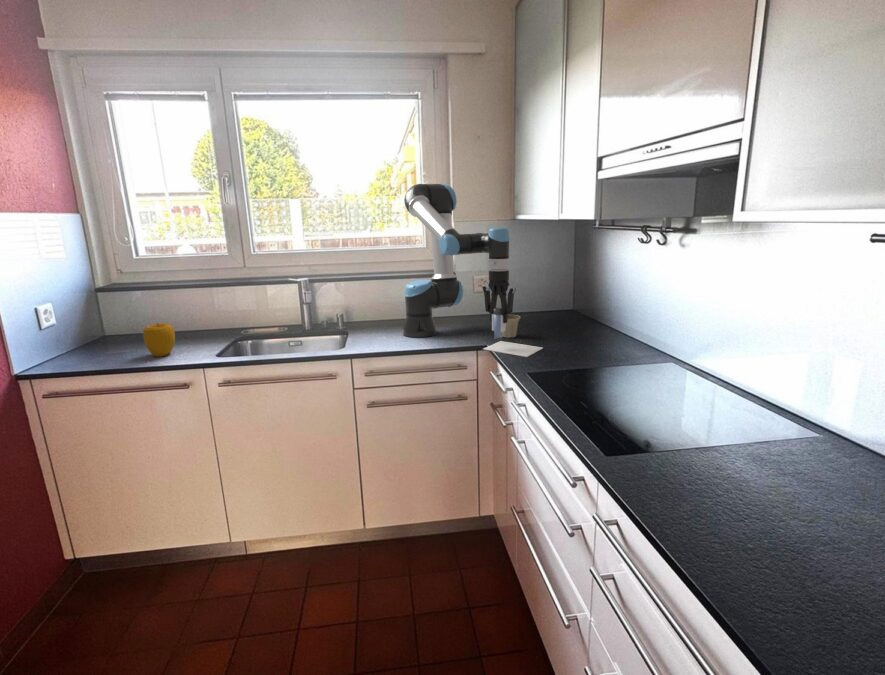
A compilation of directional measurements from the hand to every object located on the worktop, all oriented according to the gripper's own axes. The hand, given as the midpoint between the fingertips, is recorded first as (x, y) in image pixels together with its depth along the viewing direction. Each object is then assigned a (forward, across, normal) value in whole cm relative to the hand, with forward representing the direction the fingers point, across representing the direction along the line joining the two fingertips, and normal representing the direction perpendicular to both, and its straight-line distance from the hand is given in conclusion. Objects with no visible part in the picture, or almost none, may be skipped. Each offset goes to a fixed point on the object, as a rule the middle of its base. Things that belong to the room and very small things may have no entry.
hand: (498, 330), depth 186 cm
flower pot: (+8, -6, +20) cm, 22 cm away
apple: (+7, -107, -78) cm, 133 cm away
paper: (+8, +5, +3) cm, 9 cm away
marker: (+3, 0, 0) cm, 3 cm away
